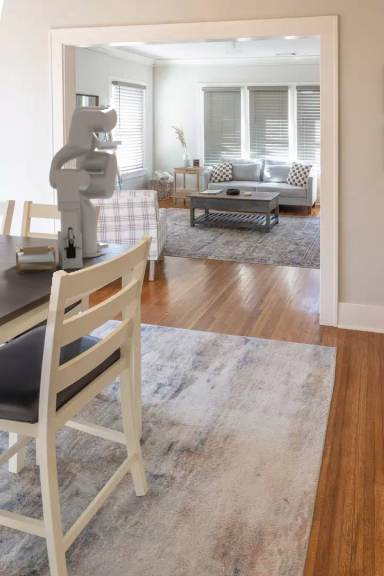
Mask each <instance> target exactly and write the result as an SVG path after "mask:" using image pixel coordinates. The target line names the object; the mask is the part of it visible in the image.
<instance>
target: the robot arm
mask: <svg viewBox="0 0 384 576" xmlns="http://www.w3.org/2000/svg"><path fill="white" fill-rule="evenodd" d="M117 122H118V114H117V111H116V109H115V108H114V107H113V106H99V105H98V106H96V105H95V106H94V105H84V106H79V107H76V108H75V109H74V110H73V112H72V115H71V121H70V126H69V132H68V137H67V143H66V144H65V145H64V146H62V147H61V148H60V149H59V150H58V151H57V152H56V153H55V155H54V156H52V159H51V163H50V168H49V175H48V181H49V185H50V187H51V188H52V189H54V190H56V200H57V203H56V204H57V205H56V206H57V212H60V231H61V233H62V239H63V240H64V239H66V238H67V239H66V240H67V247H66V256H67V259H70V258H76V247H75V239H76V236H77V231H79V232H80V233H82V259H83V258H84V259H85V258H87V259H89V258H96V257H100V256H102V251H101V250H102V249H108V248H109V244H108V243H107V242H106V243H101V242H98V224H97V223H98V219H97V216H98V215H97V213H98V212H97V208H96V206H95V205H94V204H93V202H92V201H91V200H109V199H111V198H113V196H114V194H115V189H116V180H117V171H118V159H117V156H116V154H115V152H113V151H111V150H102V149H101V145H102V142H101V140H100V139H99V137H98V136H97V135H96V134H109V133H110V132H111V131H113V130H114V129H115V128H116V125H117ZM74 159H76V160H75V168H63V166H65V165H66V164H67V163H69V162H70V161H73V160H74ZM68 231H69V233H68ZM68 234H69V238H68V237H67V235H68ZM73 234H74V236H75V238H74V236H73ZM68 240H69V241H68ZM68 243H69V244H68Z"/></svg>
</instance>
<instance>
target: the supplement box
mask: <svg viewBox="0 0 384 576" xmlns="http://www.w3.org/2000/svg"><path fill="white" fill-rule="evenodd" d="M68 233H69V231H68ZM73 236H74V234H73ZM67 237H68V238H69V234H68V235H67ZM74 238H75V236H74ZM66 239H67V238H66ZM66 239H64V240H63V239H62V233H61V230H59V231H57V247H58V248H57V251H58V267H60V268H61V269H62V270H67V269H82V268H83V265H84V264H83V261H84V260H83V258H82V233H80V232H79V231H77V236H76V239H75V247H76V258H70V259H67V256H66V247H67V240H66ZM68 241H69V240H68ZM68 244H69V243H68Z"/></svg>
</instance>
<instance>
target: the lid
mask: <svg viewBox="0 0 384 576" xmlns="http://www.w3.org/2000/svg"><path fill="white" fill-rule="evenodd" d="M48 248H49V247H48V245H31V246H30V245H28V246H26V245H25V246H22V249H23V252H19V253H18V262H19V263H25V262H50V261H55V260H54V255H53V252H52V251H48Z"/></svg>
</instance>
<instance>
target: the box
mask: <svg viewBox="0 0 384 576" xmlns="http://www.w3.org/2000/svg"><path fill="white" fill-rule="evenodd" d="M48 251H52V252H53V255H54V260H55V261H50V262H25V263H19V262H18V253H19V252H23V248H19V245H15V260H16V261H15V263H16V266H15V267H16V273H17V274H26V273H47V272H48V273H49V272H57V262H56V261H57V260H56V259H57V257H56V249H55V245H54V244H51V247H48Z"/></svg>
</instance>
